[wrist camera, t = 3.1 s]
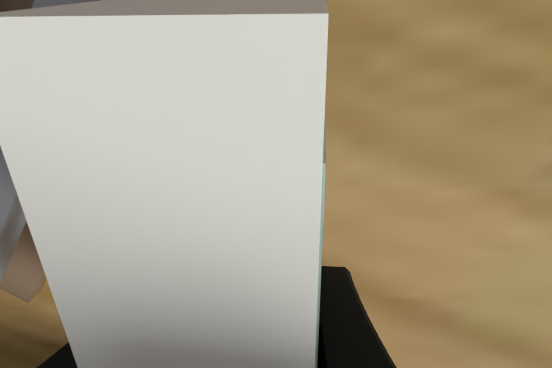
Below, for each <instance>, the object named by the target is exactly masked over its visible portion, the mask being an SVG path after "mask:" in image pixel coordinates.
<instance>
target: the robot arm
mask: <svg viewBox="0 0 552 368" xmlns="http://www.w3.org/2000/svg"><path fill="white" fill-rule="evenodd" d="M37 368H78V367H77V364H76V361H75V358H74V355H73V353H72V350H71V347H70V344H69V343H67V344H66V345H65V346H64V347H62V348H61V349H60V350H59V351H57V352H56V353H55V354H54V355H52V356H51V357H50V358H49V359H47V360H46V361H45V362H44V363H42V364H41V365H40V366H38V367H37ZM317 368H396V366H395V365H394V363H393V361H392V359H391V358H390V356H389V354H388V352H387V351H386V349H385V347H384V345H383V343H382V342H381V340H380V338H379V336H378V334H377V332H376V331H375V329H374V327H373V325H372V323H371V321H370V319H369V317H368V315H367V313H366V311H365V309H364V307H363V304H362V302H361V300H360V298H359V295H358V293H357V291H356V288H355V286H354V283H353V280H352V277H351V274H350V272H349V271H348V270H347V269H346V268H345V267H330V266H321V289H320V312H319V336H318V360H317Z"/></svg>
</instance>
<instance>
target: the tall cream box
mask: <svg viewBox="0 0 552 368" xmlns="http://www.w3.org/2000/svg"><path fill="white" fill-rule="evenodd" d="M327 38H328V8H327V3H326V0H100V1H92V2H83V3H74V4H66V5H57V6H49V7H40V8H31V9H23V10H14V11H6V12H0V146H1V149H2V152H3V155H4V158H5V161H6V163H7V166H8V169H9V172H10V175H11V178H12V181H13V184H14V186H15V189H16V192H17V195H18V198H19V201H20V204H21V206H22V209H23V212H24V215H25V218H26V221H27V224H28V226H29V229H30V232H31V235H32V238H33V241H34V244H35V247H36V249H37V252H38V255H39V258H40V261H41V264H42V267H43V269H44V272H45V275H46V278H47V281H48V284H49V287H50V290H51V292H52V295H53V298H54V301H55V304H56V307H57V310H58V312H59V315H60V318H61V321H62V324H63V327H64V330H65V333H66V335H67V338H68V341H69V344H70V347H71V350H72V353H73V355H74V358H75V361H76V364H77V367H78V368H317V360H318V336H319V312H320V289H321V265H322V241H323V218H324V194H325V170H326V151H325V90H326V64H327Z"/></svg>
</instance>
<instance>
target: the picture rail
mask: <svg viewBox="0 0 552 368" xmlns="http://www.w3.org/2000/svg"><path fill="white" fill-rule="evenodd" d="M92 1H100V0H0V12H6V11H14V10H23V9H31V8H40V7H49V6H57V5H66V4H74V3H83V2H92ZM45 279H46V275H45V272H44V269H43V267H42V264H41V261H40V258H39V255H38V252H37V249H36V247H35V244H34V241H33V238H32V235H31V232H30V229H29V226H28V224H27V221H26V218H25V215H24V212H23V209H22V206H21V204H20V201H19V198H18V195H17V192H16V189H15V186H14V184H13V181H12V178H11V175H10V172H9V169H8V166H7V163H6V161H5V158H4V155H3V152H2V149H1V146H0V289H2V290H4V291H6V292H8V293H10V294H12V295H14V296H16V297H18V298H20V299H22V300H23V301H25V302H27V303H29V301H30V300H31V299H32V298H33V297H34V296H35V295H36V294H37V292H38V291H39V290H40V289H41V287H42V285H43V283H44V281H45Z"/></svg>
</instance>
